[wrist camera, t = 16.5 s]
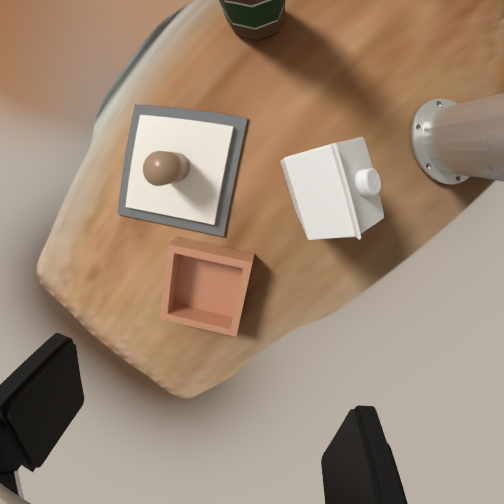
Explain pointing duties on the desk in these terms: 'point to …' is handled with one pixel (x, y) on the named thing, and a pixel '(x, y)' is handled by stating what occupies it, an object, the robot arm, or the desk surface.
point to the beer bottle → (254, 17)
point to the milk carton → (334, 189)
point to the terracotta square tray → (205, 285)
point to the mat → (229, 174)
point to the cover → (178, 167)
